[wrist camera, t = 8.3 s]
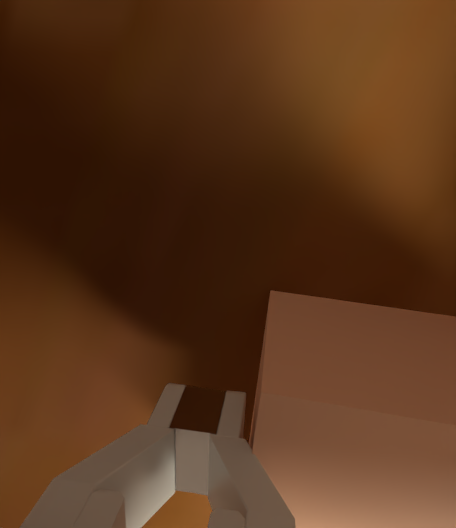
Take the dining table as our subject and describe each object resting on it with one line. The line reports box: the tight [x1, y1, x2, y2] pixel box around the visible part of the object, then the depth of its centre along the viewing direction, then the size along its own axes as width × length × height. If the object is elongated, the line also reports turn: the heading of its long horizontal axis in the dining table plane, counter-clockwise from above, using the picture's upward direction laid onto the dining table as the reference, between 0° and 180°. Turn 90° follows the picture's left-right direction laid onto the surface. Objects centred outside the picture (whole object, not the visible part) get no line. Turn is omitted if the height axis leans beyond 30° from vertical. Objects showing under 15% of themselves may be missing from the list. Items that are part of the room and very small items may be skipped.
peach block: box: [249, 290, 456, 528], centre depth 10 cm, size 8×8×5 cm
